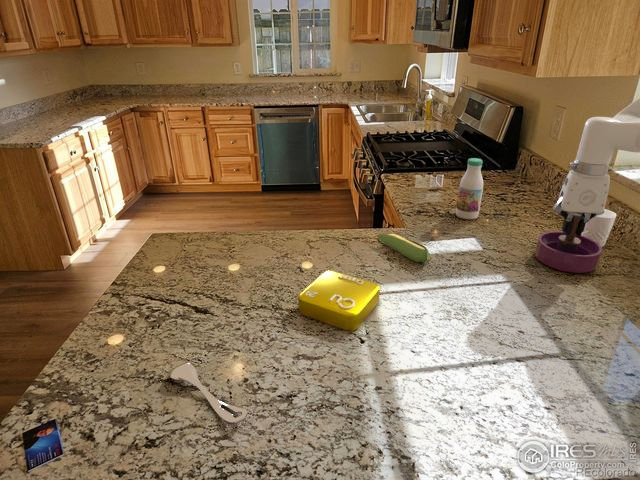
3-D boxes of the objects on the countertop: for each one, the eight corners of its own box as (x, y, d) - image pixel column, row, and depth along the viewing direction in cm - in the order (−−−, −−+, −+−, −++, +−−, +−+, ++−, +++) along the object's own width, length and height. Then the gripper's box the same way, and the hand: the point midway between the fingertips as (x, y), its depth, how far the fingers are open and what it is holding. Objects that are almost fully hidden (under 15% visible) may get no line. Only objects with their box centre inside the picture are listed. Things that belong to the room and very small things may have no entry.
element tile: (381, 299, 102) (383, 282, 100) (354, 333, 90) (354, 315, 88) (327, 283, 109) (327, 266, 107) (295, 312, 97) (294, 295, 95)
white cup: (580, 247, 126) (590, 216, 122) (573, 236, 133) (581, 206, 129) (610, 250, 125) (620, 218, 120) (601, 238, 131) (610, 208, 127)
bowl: (583, 249, 125) (588, 233, 122) (606, 276, 111) (612, 258, 109) (527, 246, 127) (531, 229, 124) (544, 272, 113) (549, 254, 111)
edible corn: (421, 268, 116) (422, 253, 114) (372, 241, 130) (373, 228, 128) (434, 262, 118) (435, 248, 116) (384, 237, 133) (385, 224, 131)
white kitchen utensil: (253, 400, 69) (231, 418, 66) (256, 416, 71) (234, 434, 67) (183, 353, 81) (161, 366, 78) (187, 368, 83) (165, 381, 79)
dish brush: (573, 245, 119) (583, 211, 115) (581, 254, 115) (591, 219, 110) (553, 243, 120) (562, 210, 116) (559, 252, 115) (569, 218, 111)
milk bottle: (458, 209, 153) (466, 155, 145) (480, 214, 150) (490, 158, 141) (452, 217, 147) (460, 160, 139) (475, 221, 144) (485, 164, 135)
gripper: (562, 170, 105) (544, 237, 113) (632, 173, 103) (609, 242, 111) (551, 162, 112) (536, 226, 120) (617, 165, 110) (597, 230, 118)
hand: (571, 233), depth 115 cm, fingers closed on dish brush
